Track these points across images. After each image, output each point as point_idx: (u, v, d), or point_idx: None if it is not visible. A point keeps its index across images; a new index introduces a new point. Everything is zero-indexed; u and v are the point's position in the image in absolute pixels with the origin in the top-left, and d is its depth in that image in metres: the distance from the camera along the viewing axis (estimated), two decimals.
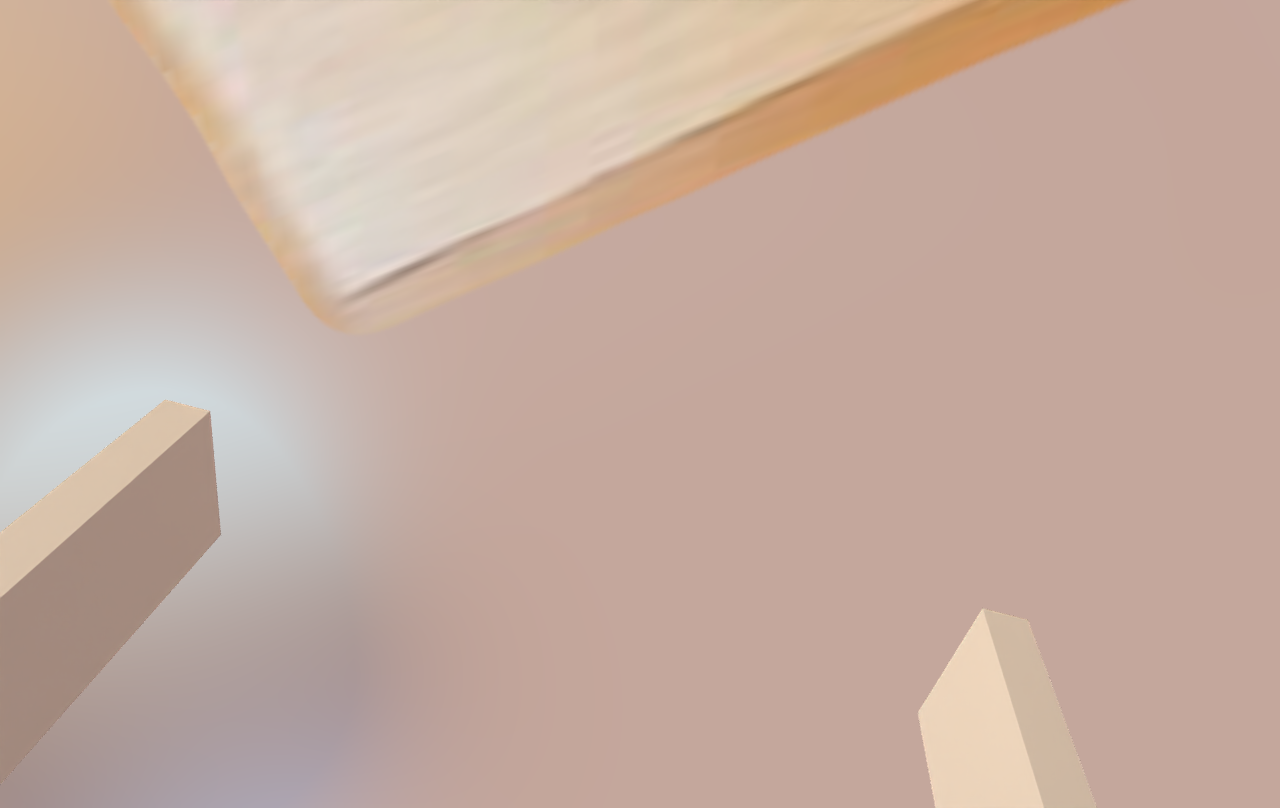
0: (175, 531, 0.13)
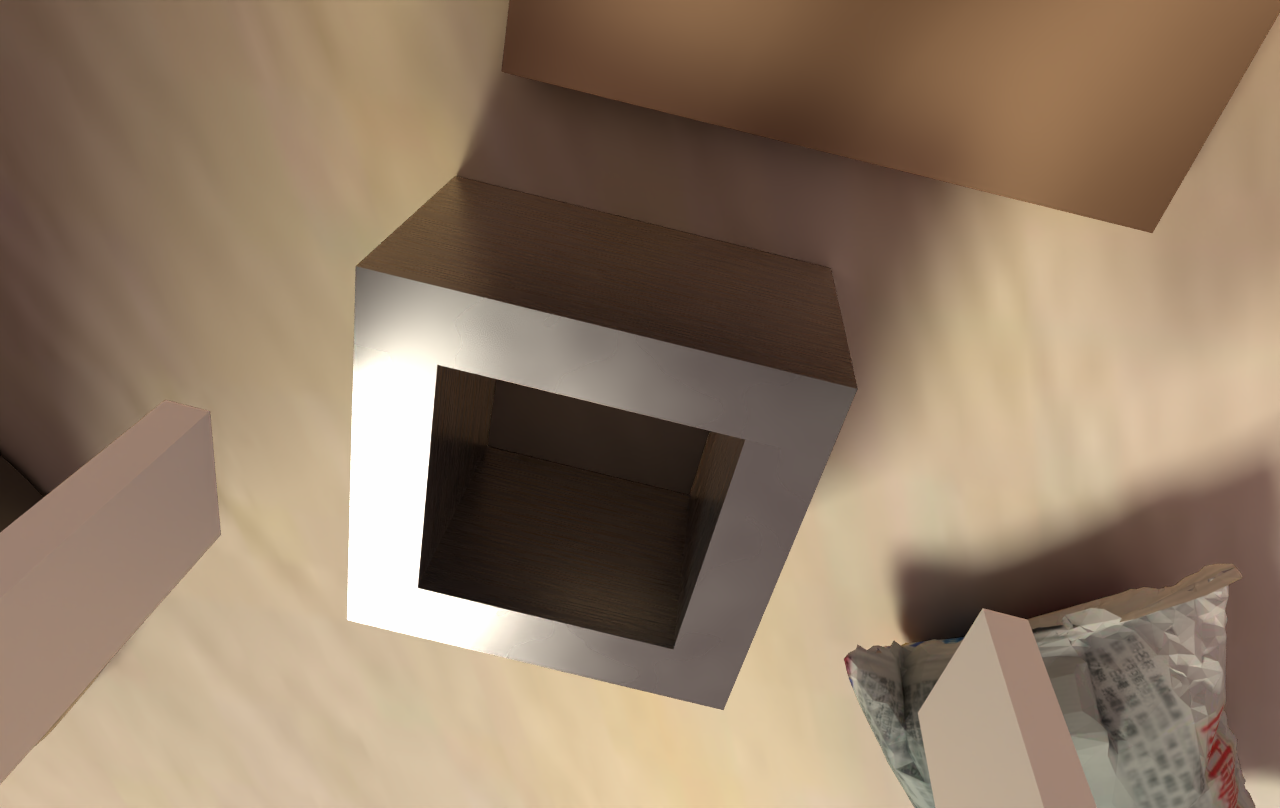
0: (175, 531, 0.13)
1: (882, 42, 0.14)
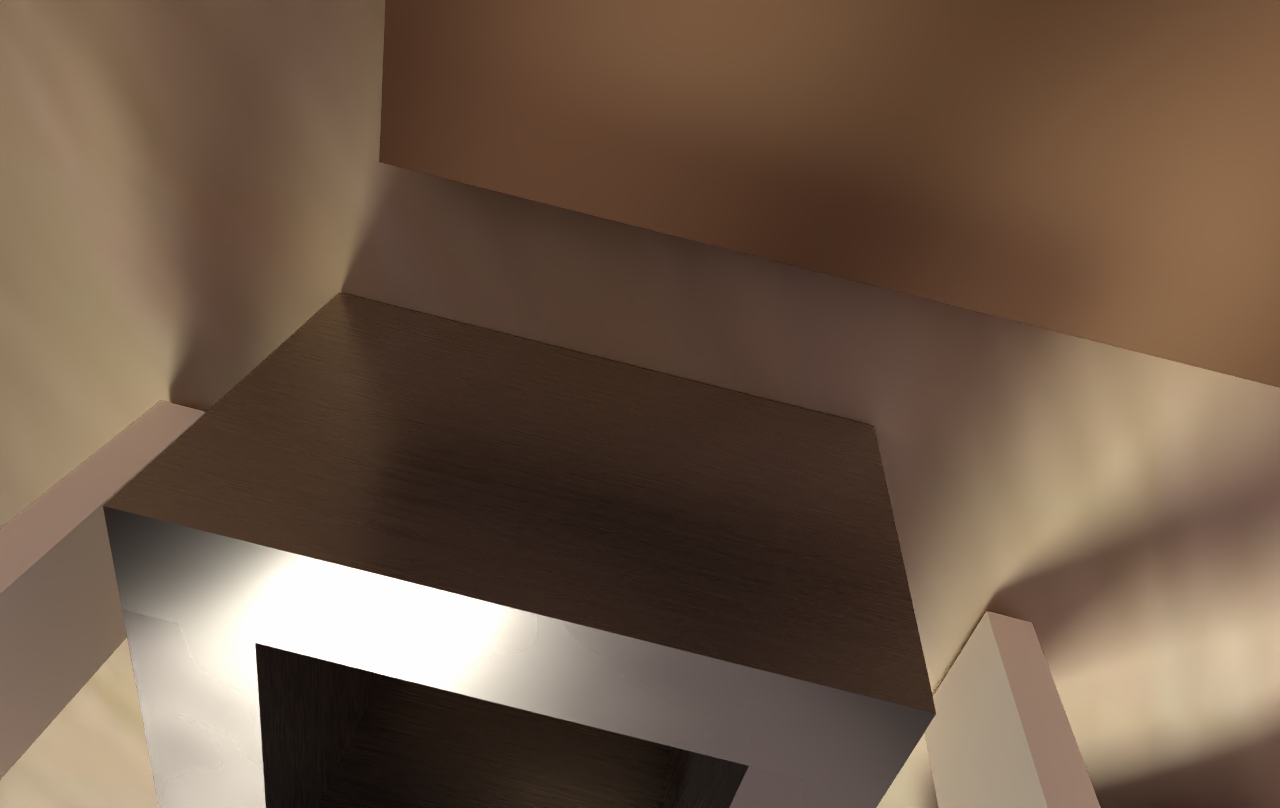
0: None
1: (972, 127, 0.08)
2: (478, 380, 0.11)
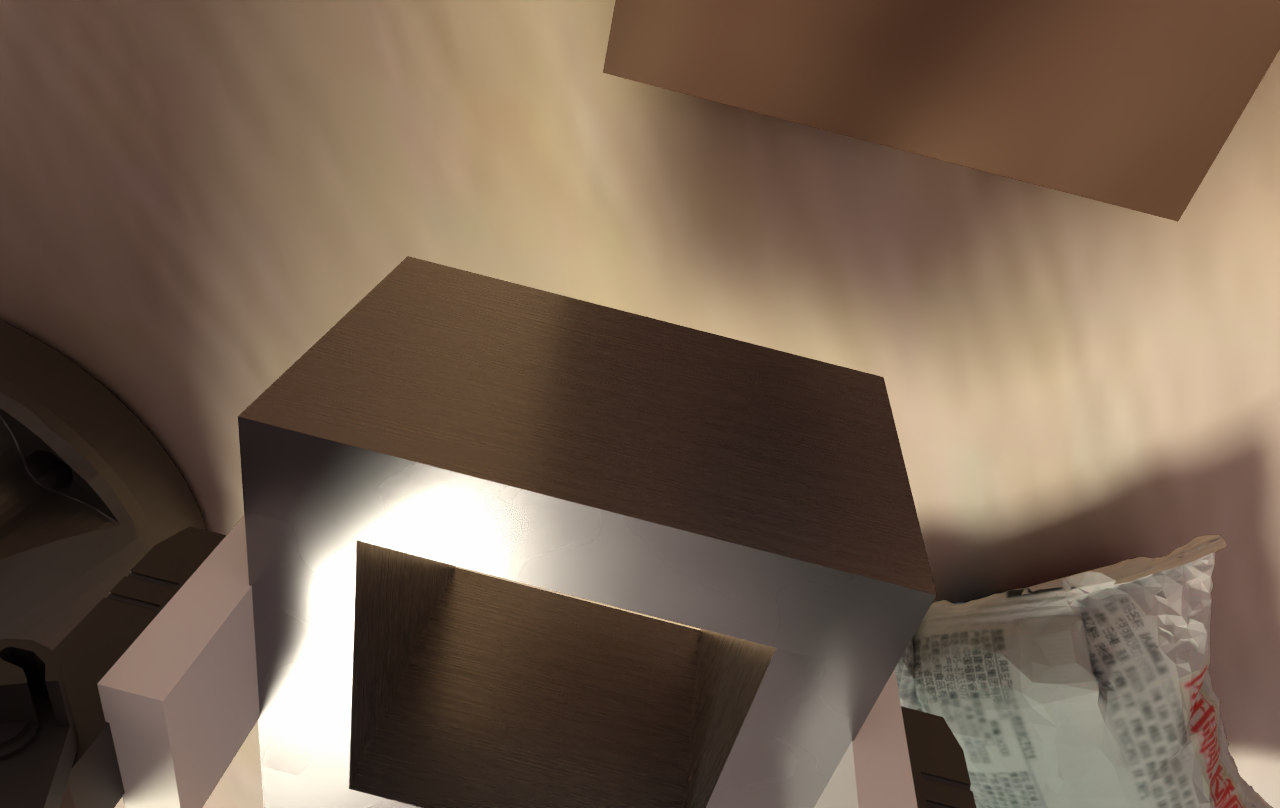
0: None
1: (938, 49, 0.16)
2: (535, 330, 0.12)
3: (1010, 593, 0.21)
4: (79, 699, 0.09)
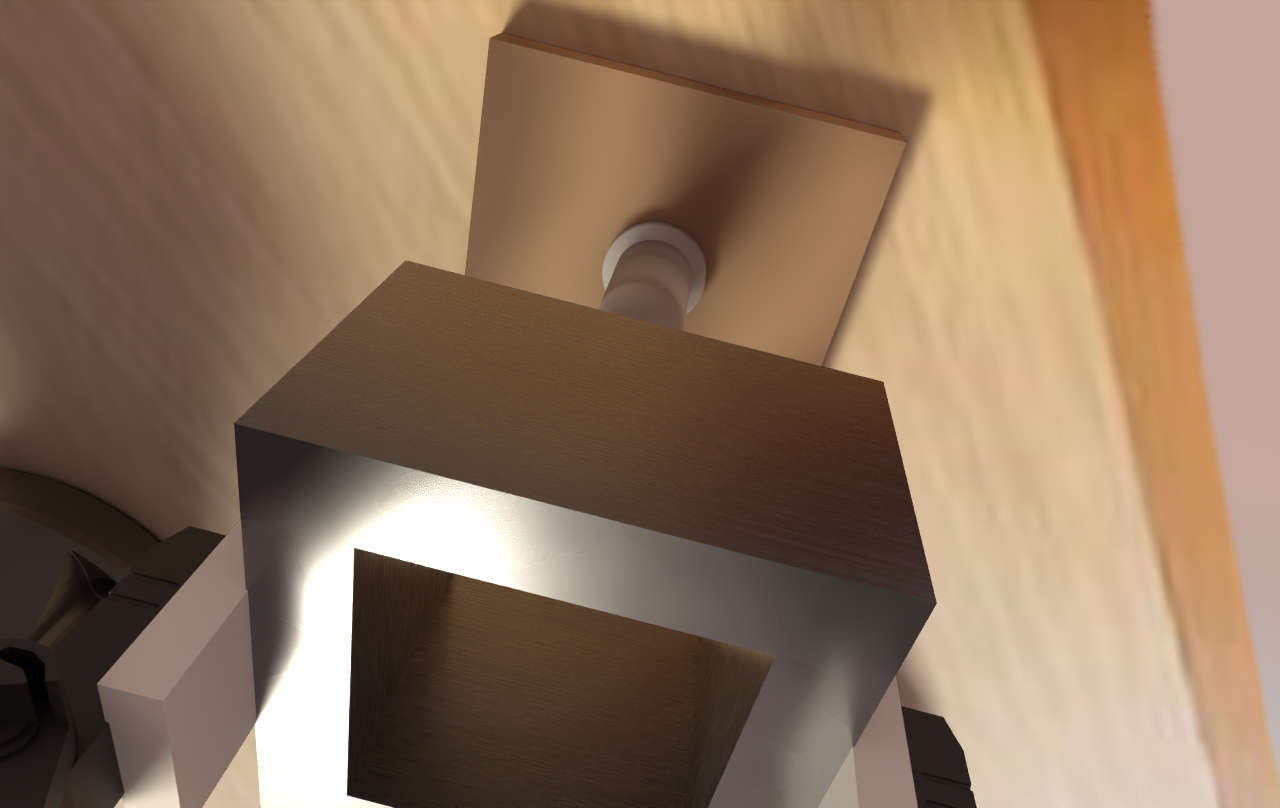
0: None
1: None
2: (533, 335, 0.12)
3: None
4: (79, 699, 0.09)
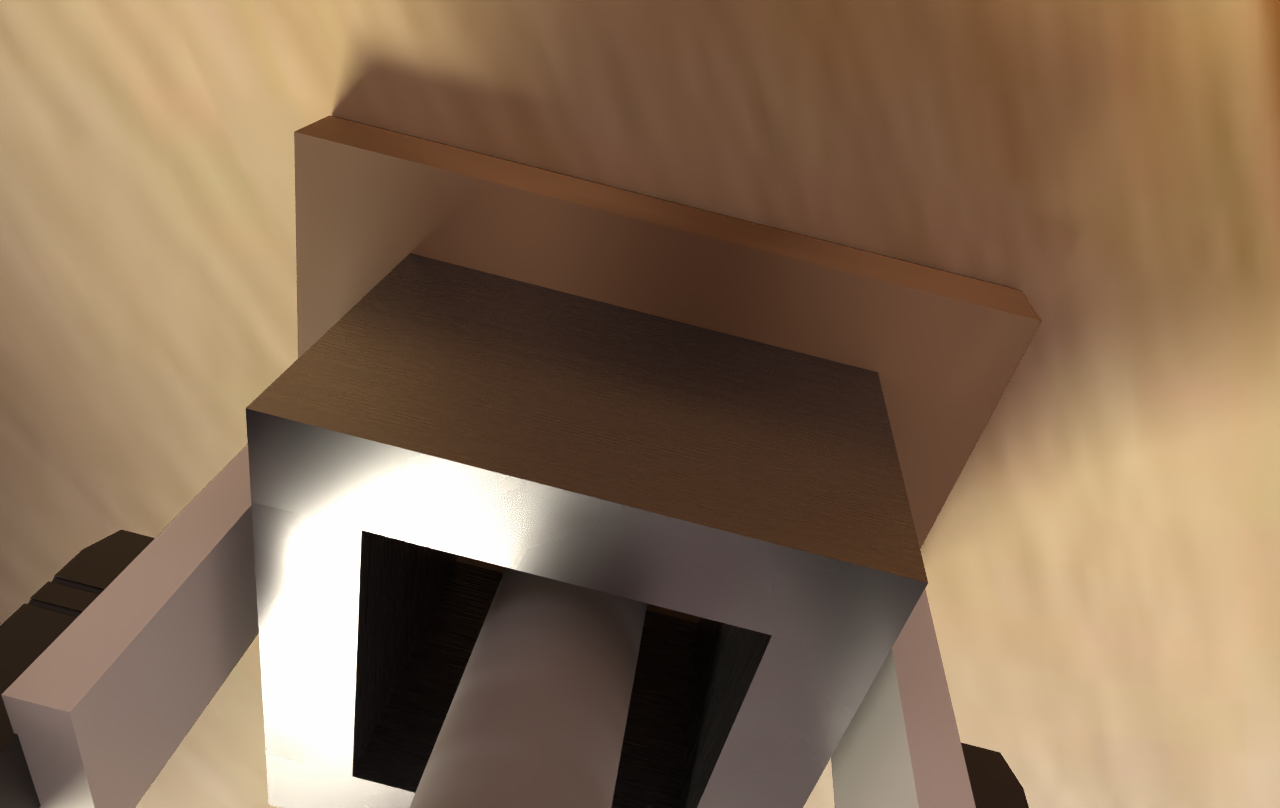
0: None
1: None
2: (535, 325, 0.12)
3: None
4: None
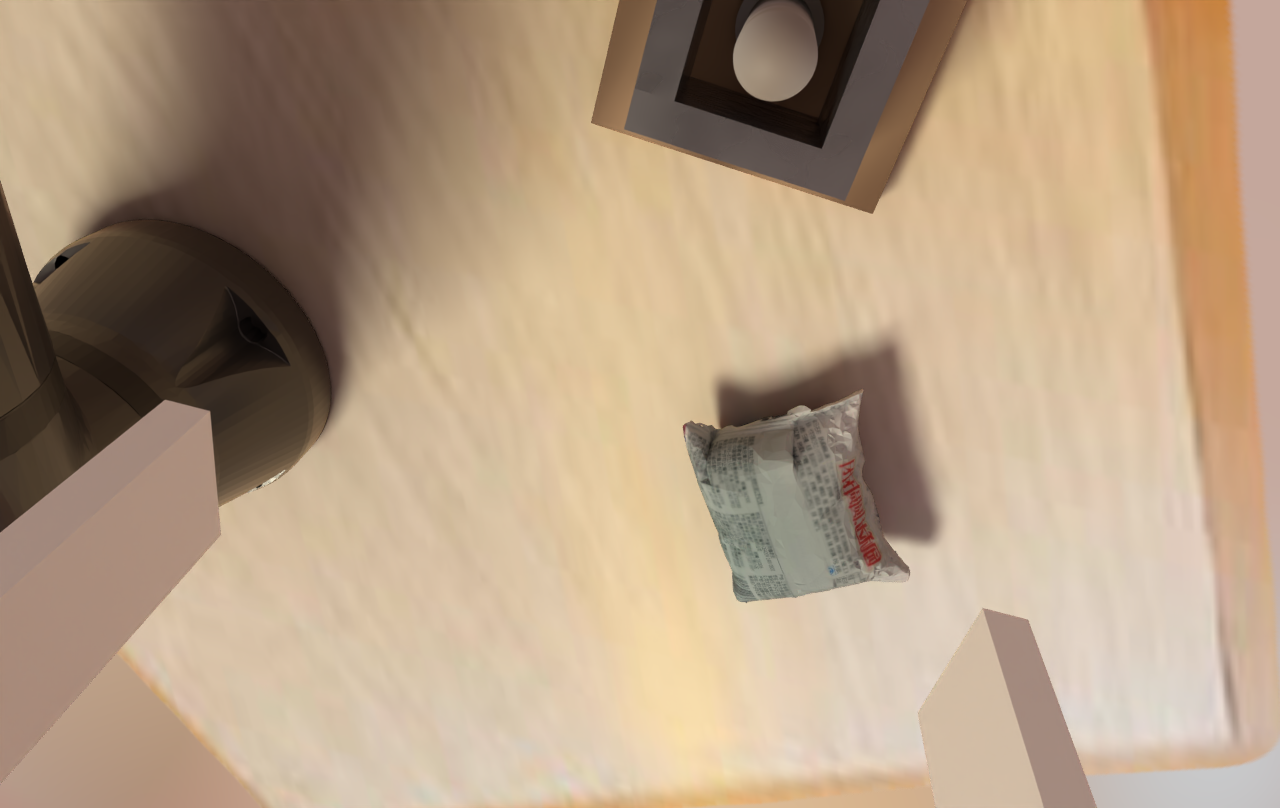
0: (175, 531, 0.13)
1: None
2: None
3: (763, 419, 0.38)
4: None
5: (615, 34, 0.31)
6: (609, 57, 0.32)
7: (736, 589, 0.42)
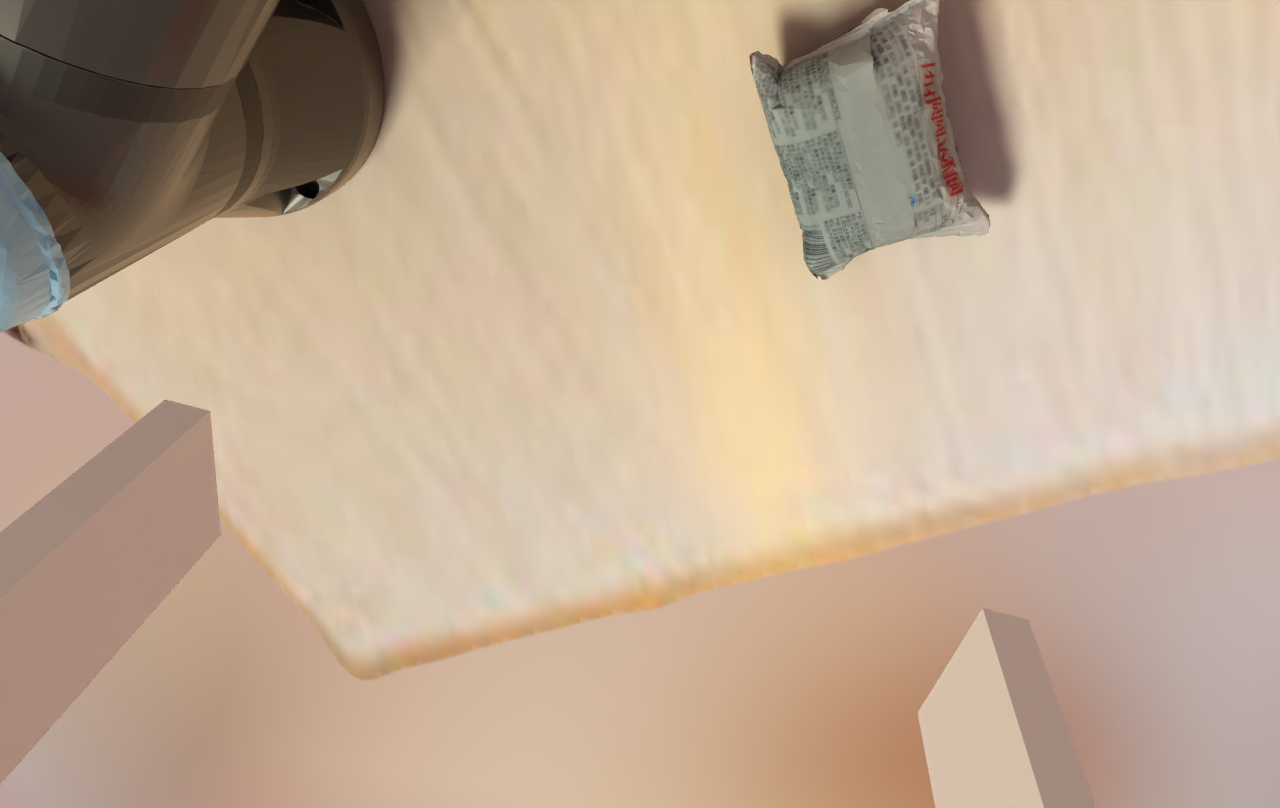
0: (175, 531, 0.13)
1: None
2: None
3: (835, 38, 0.36)
4: None
5: None
6: None
7: (808, 251, 0.40)
